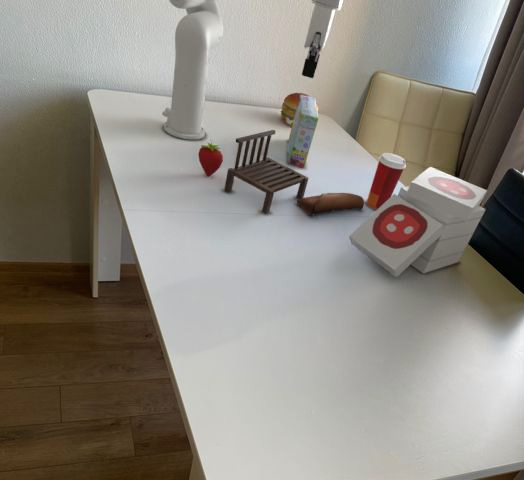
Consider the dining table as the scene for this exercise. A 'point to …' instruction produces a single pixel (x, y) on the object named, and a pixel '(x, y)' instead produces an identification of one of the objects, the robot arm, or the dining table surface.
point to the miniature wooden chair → (263, 170)
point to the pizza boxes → (422, 224)
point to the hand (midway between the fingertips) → (308, 72)
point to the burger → (291, 107)
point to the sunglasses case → (330, 203)
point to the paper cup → (385, 179)
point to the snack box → (302, 130)
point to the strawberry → (210, 158)
